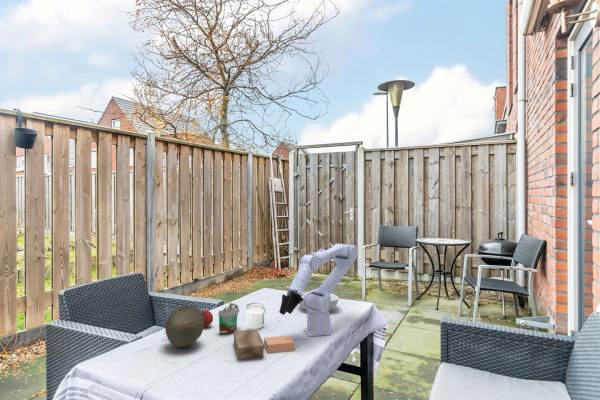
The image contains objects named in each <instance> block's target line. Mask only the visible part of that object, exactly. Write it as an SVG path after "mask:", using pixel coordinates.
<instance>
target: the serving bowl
mask: <svg viewBox="0 0 600 400" xmlns="http://www.w3.org/2000/svg"><path fill="white" fill-rule="evenodd" d="M311 291H312V290H309V291H304V292H303V295H302V298H303V299H304V297H305V295H306V294H308V293H310V292H311ZM330 297H331V303H330V304H329V307H328V309H327V311H329V312H330V311H331V310H333V309H334V308H336V306H337V304H338V301H339V296H338V295H337V294H334V293H332V292H331V294H330ZM298 305H299V306H300V307H301V308H302V309H303V310H306V307H305V306H304V304H303V301H301V302H300V303H299V304H298Z"/></svg>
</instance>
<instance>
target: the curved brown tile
mask: <svg viewBox="0 0 600 400" xmlns="http://www.w3.org/2000/svg"><path fill="white" fill-rule="evenodd" d="M233 348H234V351H235V354H236V359H237V360H246V359H247V360H249V359H256V358H264V349H265V345H264V340H263V339H262V337H261V334H260V332H259V330H258V329H255V328H254V329H252V328H251V329H244V330H243V329H242V330H241V329H240V330H236V331H234V333H233Z"/></svg>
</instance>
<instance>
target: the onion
mask: <svg viewBox="0 0 600 400" xmlns="http://www.w3.org/2000/svg"><path fill="white" fill-rule="evenodd" d="M201 312H202V315H203V318H204V327H203V328H208V327H209V326H210V325H211V324H212V323H213V321H214V320H213V319H214V315H213V313H212V312H211V311H209V308H205V309H204V310H203V311H201Z"/></svg>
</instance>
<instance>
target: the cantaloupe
mask: <svg viewBox="0 0 600 400" xmlns="http://www.w3.org/2000/svg"><path fill="white" fill-rule="evenodd" d="M202 312H203V311H202V310H201V309H199V307H197V306H195V305H190V304H189V305H188V304H185V305H180V306H178V307H176V308H175V309H173V310H172V311H171V313H170V314H169V315H168V318H167V319H166V322H165V329H164V330H165V334H166V335H165V336H166V337H167V339H168V341H169V343H170V344H172V345H173V346H174V347H176V348H187V347H189V346H192V345H193V344H194V343H195V342H197V340H198V339H199V338H201V336H202V334H203V330H204V328H205V327H204V318H203V315H202Z"/></svg>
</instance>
